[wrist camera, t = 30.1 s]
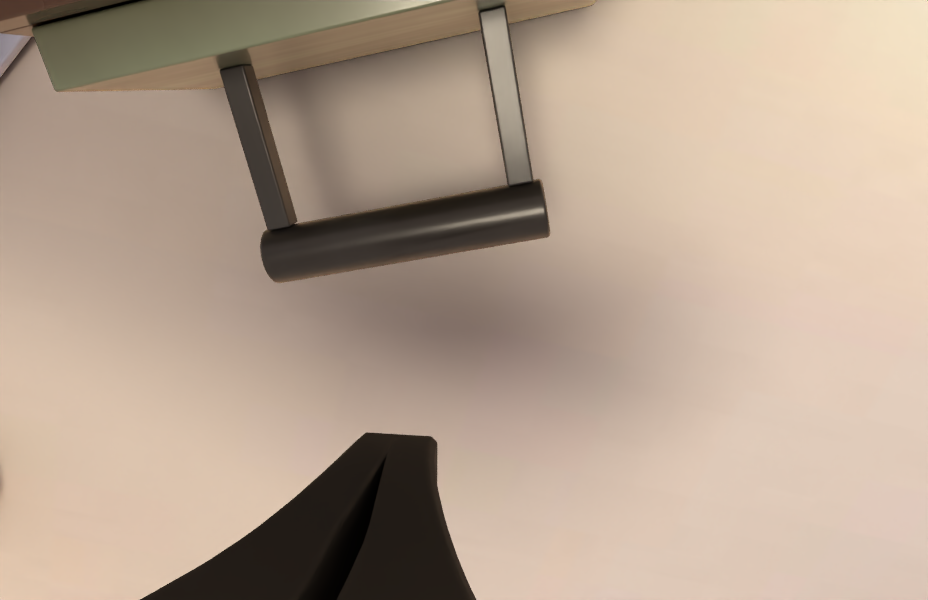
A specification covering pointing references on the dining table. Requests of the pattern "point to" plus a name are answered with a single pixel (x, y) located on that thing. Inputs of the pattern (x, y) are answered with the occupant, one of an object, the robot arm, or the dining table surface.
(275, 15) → the drawer
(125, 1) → the cabinet
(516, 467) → the dining table surface
